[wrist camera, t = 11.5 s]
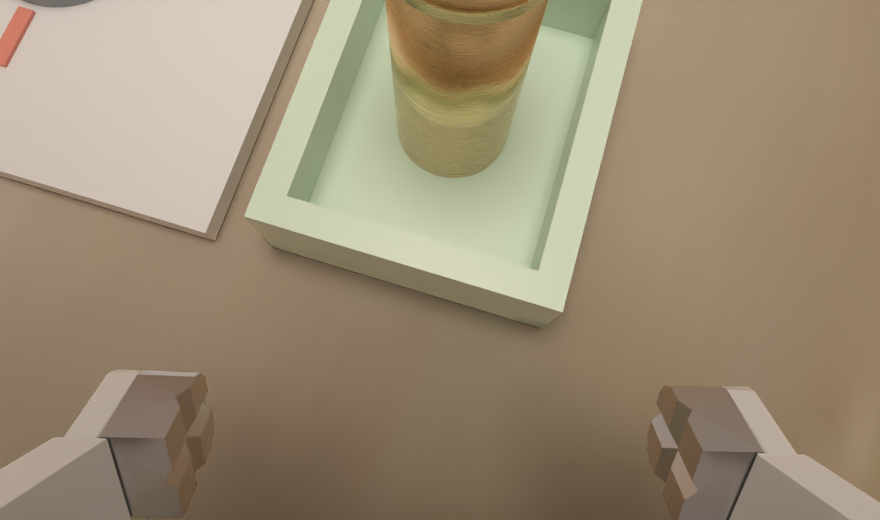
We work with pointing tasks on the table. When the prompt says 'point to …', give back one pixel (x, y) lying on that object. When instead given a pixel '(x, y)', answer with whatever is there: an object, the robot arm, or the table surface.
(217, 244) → the table surface
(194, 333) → the table surface
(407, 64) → the amber drinking glass
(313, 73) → the tray
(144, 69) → the crank jig
